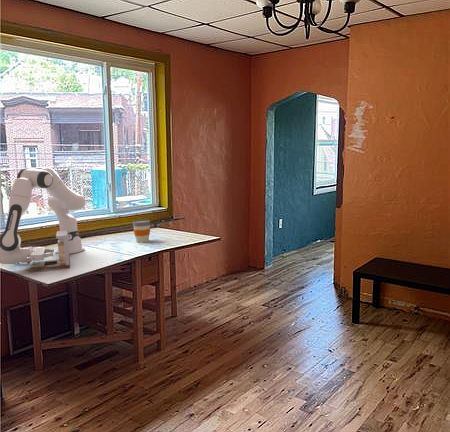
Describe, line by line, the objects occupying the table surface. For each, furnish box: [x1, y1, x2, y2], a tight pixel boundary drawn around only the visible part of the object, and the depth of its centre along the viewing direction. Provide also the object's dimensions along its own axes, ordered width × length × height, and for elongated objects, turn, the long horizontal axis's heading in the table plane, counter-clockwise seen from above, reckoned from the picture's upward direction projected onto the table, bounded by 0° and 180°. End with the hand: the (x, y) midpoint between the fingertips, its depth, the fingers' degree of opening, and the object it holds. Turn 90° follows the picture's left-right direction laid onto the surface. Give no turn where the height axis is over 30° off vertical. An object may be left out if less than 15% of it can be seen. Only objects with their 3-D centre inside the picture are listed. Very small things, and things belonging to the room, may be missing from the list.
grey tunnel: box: [55, 230, 71, 265], centre depth 265 cm, size 16×6×18 cm, turn 18°
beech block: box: [57, 241, 65, 263], centre depth 266 cm, size 5×5×12 cm
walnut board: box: [29, 258, 71, 273], centre depth 265 cm, size 16×21×2 cm
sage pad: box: [30, 261, 45, 268], centre depth 262 cm, size 9×7×1 cm
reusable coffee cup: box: [132, 219, 151, 244], centre depth 328 cm, size 13×13×15 cm
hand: (53, 252), depth 264 cm, fingers open, 8 cm apart
